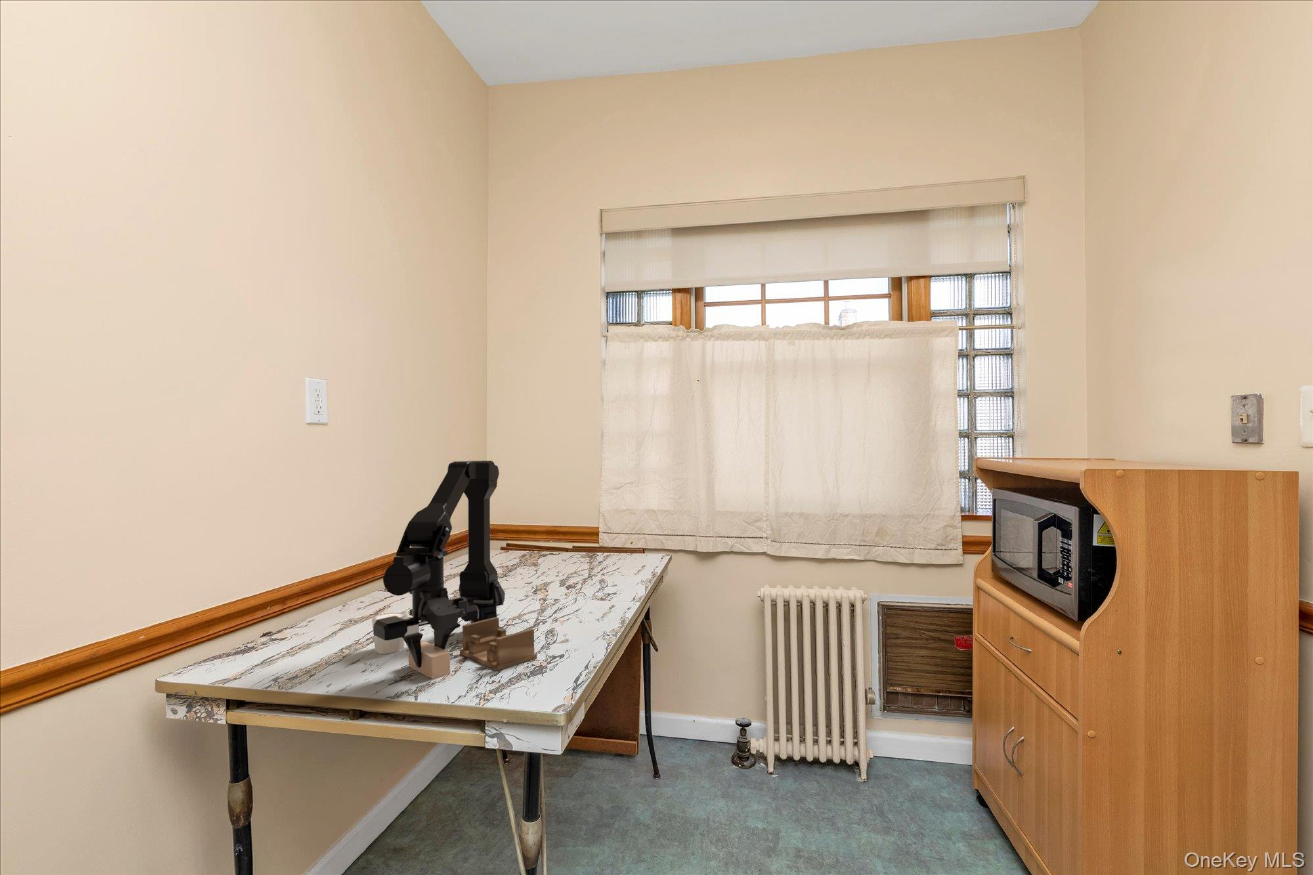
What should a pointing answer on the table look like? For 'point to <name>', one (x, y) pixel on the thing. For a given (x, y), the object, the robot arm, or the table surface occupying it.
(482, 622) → the rack
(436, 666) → the tan rectangular block
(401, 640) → the white tapered cup
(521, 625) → the table surface
